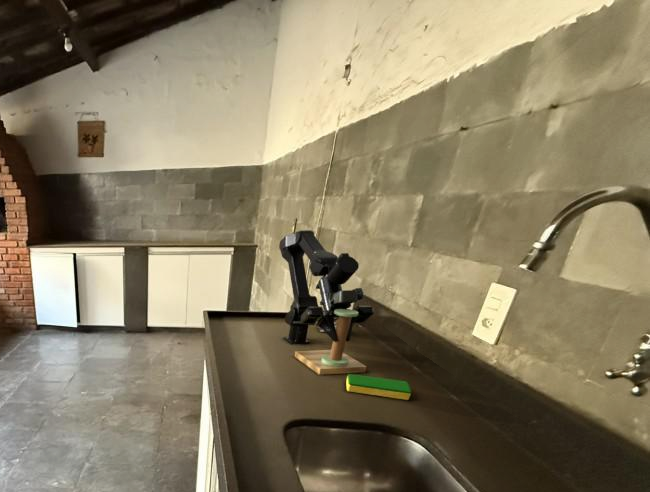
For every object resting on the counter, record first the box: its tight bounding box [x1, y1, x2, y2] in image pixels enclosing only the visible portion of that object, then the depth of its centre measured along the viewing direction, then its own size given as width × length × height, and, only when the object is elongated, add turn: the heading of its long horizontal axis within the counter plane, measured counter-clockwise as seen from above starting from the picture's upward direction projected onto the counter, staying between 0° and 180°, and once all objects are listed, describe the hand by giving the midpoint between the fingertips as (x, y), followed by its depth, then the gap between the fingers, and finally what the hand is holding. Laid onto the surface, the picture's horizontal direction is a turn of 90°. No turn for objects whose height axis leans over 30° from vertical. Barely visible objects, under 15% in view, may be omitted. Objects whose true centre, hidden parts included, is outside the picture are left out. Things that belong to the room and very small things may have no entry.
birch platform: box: [294, 349, 368, 376], centre depth 126 cm, size 15×14×2 cm
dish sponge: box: [345, 373, 412, 401], centre depth 109 cm, size 7×14×2 cm, turn 65°
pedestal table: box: [322, 308, 358, 367], centre depth 119 cm, size 7×7×15 cm
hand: (342, 341), depth 119 cm, fingers closed on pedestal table, 3 cm apart
